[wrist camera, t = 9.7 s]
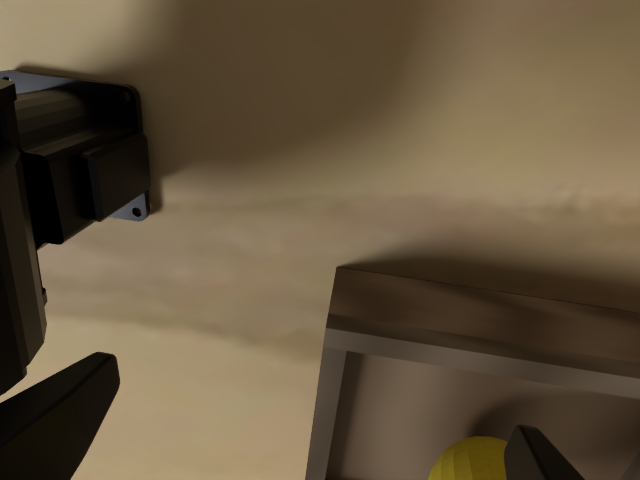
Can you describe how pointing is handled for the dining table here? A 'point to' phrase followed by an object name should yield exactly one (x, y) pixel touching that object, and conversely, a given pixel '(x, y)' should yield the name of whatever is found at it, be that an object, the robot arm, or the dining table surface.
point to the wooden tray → (469, 378)
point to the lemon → (471, 460)
